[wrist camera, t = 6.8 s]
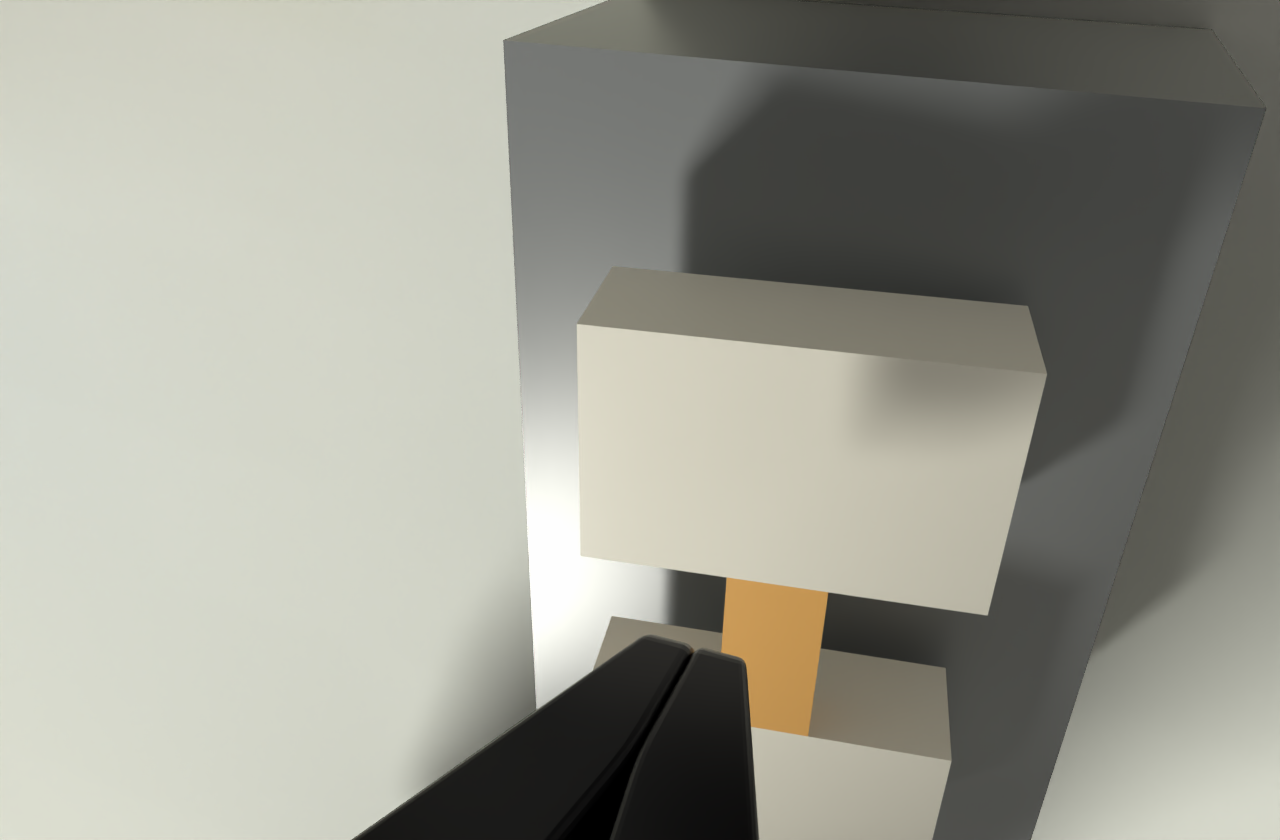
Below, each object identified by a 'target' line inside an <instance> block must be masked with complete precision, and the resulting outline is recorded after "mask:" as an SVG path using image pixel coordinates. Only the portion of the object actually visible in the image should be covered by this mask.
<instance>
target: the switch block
mask: <svg viewBox="0 0 1280 840" xmlns="http://www.w3.org/2000/svg"><path fill="white" fill-rule="evenodd" d="M503 42H504V63H505V83H506V103H507V124H508V144H509V164H510V185H511V205H512V225H513V246H514V266H515V286H516V306H517V327H518V347H519V367H520V388H521V408H522V428H523V449H524V469H525V489H526V510H527V530H528V550H529V571H530V591H531V611H532V632H533V652H534V672H535V693H536V710H537V709H539V708H540V707H541V706H543V705H544V704H546V703H547V702H549V701H550V700H551V699H553V698H554V697H556V696H557V695H559V694H560V693H561V692H563V691H564V690H566V689H567V688H569V687H570V686H571V685H573V684H574V683H576V682H577V681H579V680H580V679H581V678H583V677H584V676H586V675H587V674H588V673H590V672H591V671H593V668H594V665H595V662H596V659H597V657H598V654H599V651H600V648H601V645H602V642H603V640H604V637H605V634H606V631H607V628H608V625H609V622H610V620H611V617H612V616H616V617H622V618H628V619H635V620H641V621H648V622H654V623H661V624H667V625H673V626H680V627H686V628H693V629H699V630H706V631H712V632H718V633H723V621H724V608H725V594H726V581H727V577H720V576H714V575H707V574H700V573H693V572H686V571H679V570H672V569H666V568H659V567H652V566H645V565H638V564H631V563H625V562H618V561H611V560H604V559H597V558H590V557H584V556H581V554H580V494H579V435H578V375H577V323H578V321H579V319H580V318H581V316H582V315H583V313H584V311H585V310H586V308H587V307H588V305H589V303H590V302H591V300H592V299H593V297H594V295H595V294H596V292H597V291H598V289H599V287H600V286H601V284H602V283H603V281H604V279H605V278H606V276H607V275H608V273H609V271H610V270H611V268H612V267H613V266H617V267H627V268H637V269H648V270H658V271H669V272H679V273H690V274H700V275H710V276H721V277H731V278H742V279H752V280H763V281H773V282H783V283H794V284H804V285H815V286H825V287H836V288H846V289H857V290H867V291H877V292H888V293H898V294H909V295H919V296H930V297H940V298H950V299H961V300H971V301H982V302H992V303H1003V304H1013V305H1023V306H1028V308H1029V311H1030V315H1031V318H1032V322H1033V325H1034V329H1035V333H1036V336H1037V340H1038V343H1039V347H1040V350H1041V354H1042V357H1043V361H1044V364H1045V368H1046V372H1047V377H1046V381H1045V385H1044V389H1043V393H1042V397H1041V401H1040V405H1039V409H1038V413H1037V417H1036V421H1035V426H1034V430H1033V434H1032V438H1031V442H1030V446H1029V450H1028V454H1027V458H1026V462H1025V466H1024V470H1023V474H1022V478H1021V482H1020V486H1019V490H1018V494H1017V498H1016V502H1015V506H1014V511H1013V515H1012V519H1011V523H1010V527H1009V531H1008V535H1007V539H1006V543H1005V547H1004V551H1003V555H1002V559H1001V563H1000V567H999V571H998V575H997V579H996V583H995V587H994V592H993V596H992V600H991V604H990V608H989V612H988V616H987V615H980V614H973V613H967V612H960V611H953V610H946V609H939V608H932V607H925V606H919V605H912V604H905V603H898V602H891V601H884V600H878V599H871V598H864V597H857V596H850V595H843V594H837V593H830V592H828V599H827V606H826V613H825V620H824V627H823V634H822V641H821V649H828V650H834V651H840V652H847V653H853V654H860V655H866V656H873V657H879V658H885V659H892V660H898V661H905V662H911V663H917V664H924V665H930V666H937V667H943V668H946V681H947V697H948V712H949V728H950V743H951V759H952V762H951V766H950V770H949V774H948V778H947V782H946V786H945V790H944V794H943V798H942V802H941V806H940V810H939V814H938V818H937V822H936V826H935V830H934V834H933V838H932V840H1031V837H1032V834H1033V831H1034V828H1035V825H1036V822H1037V819H1038V816H1039V813H1040V809H1041V806H1042V803H1043V800H1044V797H1045V794H1046V791H1047V788H1048V785H1049V781H1050V778H1051V775H1052V772H1053V769H1054V766H1055V763H1056V760H1057V757H1058V754H1059V750H1060V747H1061V744H1062V741H1063V738H1064V735H1065V732H1066V729H1067V726H1068V722H1069V719H1070V716H1071V713H1072V710H1073V707H1074V704H1075V701H1076V698H1077V695H1078V691H1079V688H1080V685H1081V682H1082V679H1083V676H1084V673H1085V670H1086V667H1087V663H1088V660H1089V657H1090V654H1091V651H1092V648H1093V645H1094V642H1095V639H1096V636H1097V632H1098V629H1099V626H1100V623H1101V620H1102V617H1103V614H1104V611H1105V608H1106V604H1107V601H1108V598H1109V595H1110V592H1111V589H1112V586H1113V583H1114V580H1115V577H1116V573H1117V570H1118V567H1119V564H1120V561H1121V558H1122V555H1123V552H1124V549H1125V545H1126V542H1127V539H1128V536H1129V533H1130V530H1131V527H1132V524H1133V521H1134V518H1135V514H1136V511H1137V508H1138V505H1139V502H1140V499H1141V496H1142V493H1143V490H1144V486H1145V483H1146V480H1147V477H1148V474H1149V471H1150V468H1151V465H1152V462H1153V459H1154V455H1155V452H1156V449H1157V446H1158V443H1159V440H1160V437H1161V434H1162V431H1163V427H1164V424H1165V421H1166V418H1167V415H1168V412H1169V409H1170V406H1171V403H1172V400H1173V396H1174V393H1175V390H1176V387H1177V384H1178V381H1179V378H1180V375H1181V372H1182V368H1183V365H1184V362H1185V359H1186V356H1187V353H1188V350H1189V347H1190V344H1191V340H1192V337H1193V334H1194V331H1195V328H1196V325H1197V322H1198V319H1199V316H1200V313H1201V309H1202V306H1203V303H1204V300H1205V297H1206V294H1207V291H1208V288H1209V285H1210V281H1211V278H1212V275H1213V272H1214V269H1215V266H1216V263H1217V260H1218V257H1219V254H1220V250H1221V247H1222V244H1223V241H1224V238H1225V235H1226V232H1227V229H1228V226H1229V222H1230V219H1231V216H1232V213H1233V210H1234V207H1235V204H1236V201H1237V198H1238V195H1239V191H1240V188H1241V185H1242V182H1243V179H1244V176H1245V173H1246V170H1247V167H1248V163H1249V160H1250V157H1251V154H1252V151H1253V148H1254V145H1255V142H1256V139H1257V136H1258V132H1259V129H1260V126H1261V123H1262V120H1263V117H1264V114H1265V111H1266V107H1265V106H1264V104H1263V103H1262V101H1261V100H1260V98H1259V97H1258V96H1257V94H1256V93H1255V91H1254V90H1253V88H1252V87H1251V85H1250V84H1249V83H1248V81H1247V80H1246V78H1245V77H1244V75H1243V74H1242V72H1241V71H1240V69H1239V68H1238V67H1237V65H1236V64H1235V62H1234V61H1233V59H1232V58H1231V56H1230V55H1229V54H1228V52H1227V51H1226V49H1225V48H1224V46H1223V45H1222V43H1221V42H1220V41H1219V39H1218V38H1217V36H1216V35H1215V33H1214V32H1213V30H1212V29H1198V28H1184V27H1170V26H1155V25H1141V24H1127V23H1113V22H1098V21H1084V20H1070V19H1056V18H1042V17H1027V16H1013V15H999V14H985V13H970V12H956V11H942V10H928V9H914V8H899V7H885V6H871V5H857V4H842V3H828V2H814V1H800V0H608V1H605V2H602V3H600V4H597V5H595V6H592V7H589V8H587V9H584V10H581V11H579V12H576V13H574V14H571V15H568V16H566V17H563V18H560V19H558V20H555V21H553V22H550V23H547V24H545V25H542V26H540V27H537V28H534V29H532V30H529V31H526V32H524V33H521V34H519V35H516V36H513V37H511V38H508V39H505V40H503Z"/></svg>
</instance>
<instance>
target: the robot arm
mask: <svg viewBox="0 0 1280 840" xmlns="http://www.w3.org/2000/svg"><path fill="white" fill-rule="evenodd" d="M352 840H759V829H758V815H757V802H756V788H755V774H754V760H753V746H752V732H751V719H750V705H749V691H748V677H747V667H746V663H745V661H744V660H743V659H742V658H740V657H737V656H733V655H730V654H726V653H722V652H718V651H714V650H710V649H707V648H700V649H698V650H696V651H695V652H694V649H693V648H692V647H691V646H690V645H689V644H687V643H684V642H680V641H676V640H672V639H668V638H664V637H660V636H657V635H651V634H650V635H645V636H642V637H640V638H638V639H637V640H636V641H634V642H633V643H631V644H630V645H628V646H627V647H626V648H624V649H623V650H621V651H620V652H618V653H617V654H616V655H614V656H613V657H611V658H610V659H608V660H607V661H606V662H604V663H603V664H601V665H600V666H598V667H597V668H596V669H594V670H593V671H591V672H590V673H588V674H587V675H586V676H584V677H583V678H581V679H580V680H579V681H577V682H576V683H574V684H573V685H571V686H570V687H569V688H567V689H566V690H564V691H563V692H561V693H560V694H559V695H557V696H556V697H554V698H553V699H551V700H550V701H549V702H547V703H546V704H544V705H543V706H541V707H540V708H539V709H537V710H536V711H534V712H533V713H531V714H530V715H529V716H527V717H526V718H524V719H523V720H522V721H520V722H519V723H517V724H516V725H514V726H513V727H512V728H510V729H509V730H507V731H506V732H504V733H503V734H502V735H500V736H499V737H497V738H496V739H494V740H493V741H492V742H490V743H489V744H487V745H486V746H484V747H483V748H482V749H480V750H479V751H477V752H476V753H474V754H473V755H472V756H470V757H469V758H467V759H466V760H464V761H463V762H462V763H460V764H459V765H457V766H456V767H455V768H453V769H452V770H450V771H449V772H447V773H446V774H445V775H443V776H442V777H440V778H439V779H437V780H436V781H435V782H433V783H432V784H430V785H429V786H427V787H426V788H425V789H423V790H422V791H420V792H419V793H417V794H416V795H415V796H413V797H412V798H410V799H409V800H407V801H406V802H405V803H403V804H402V805H400V806H399V807H398V808H396V809H395V810H393V811H392V812H390V813H389V814H388V815H386V816H385V817H383V818H382V819H380V820H379V821H378V822H376V823H375V824H373V825H372V826H370V827H369V828H368V829H366V830H365V831H363V832H362V833H360V834H359V835H358V836H356V837H355V838H353V839H352Z"/></svg>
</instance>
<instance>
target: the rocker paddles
mask: <svg viewBox="0 0 1280 840" xmlns="http://www.w3.org/2000/svg"><path fill="white" fill-rule="evenodd" d="M577 375H578V435H579V494H580V554H581V556H584V557H590V558H597V559H604V560H611V561H618V562H625V563H631V564H638V565H645V566H652V567H659V568H666V569H672V570H679V571H686V572H693V573H700V574H707V575H714V576H720V577H727V581H726V594H725V608H724V621H723V633H718V632H712V631H706V630H699V629H693V628H686V627H680V626H673V625H667V624H661V623H654V622H648V621H641V620H635V619H628V618H622V617H616V616H612V617H611V620H610V622H609V625H608V628H607V631H606V634H605V637H604V640H603V642H602V645H601V648H600V651H599V654H598V657H597V659H596V662H595V665H594V668H593V670H594V669H596V668H597V667H598V666H600V665H601V664H603V663H604V662H606V661H607V660H608V659H610V658H611V657H613V656H614V655H616V654H617V653H618V652H620V651H621V650H623V649H624V648H626V647H627V646H628V645H630V644H631V643H633V642H634V641H636V640H637V639H638V638H640V637H642V636H645V635H650V634H651V635H657V636H660V637H664V638H668V639H672V640H676V641H680V642H684V643H687V644H689V645H690V646H691V647H692V648H693V649H694V652H695V651H696V650H698V649H700V648H707V649H710V650H714V651H718V652H722V653H726V654H730V655H733V656H737V657H740V658H742V659H743V660H744V661H745V663H746V667H747V677H748V691H749V705H750V719H751V732H752V746H753V760H754V774H755V788H756V802H757V815H758V829H759V840H932V838H933V834H934V830H935V826H936V822H937V818H938V814H939V810H940V806H941V802H942V798H943V794H944V790H945V786H946V782H947V778H948V774H949V770H950V766H951V762H952V759H951V743H950V728H949V712H948V697H947V681H946V668H943V667H937V666H930V665H924V664H917V663H911V662H905V661H898V660H892V659H885V658H879V657H873V656H866V655H860V654H853V653H847V652H840V651H834V650H828V649H821V641H822V634H823V627H824V620H825V613H826V606H827V599H828V592H830V593H837V594H843V595H850V596H857V597H864V598H871V599H878V600H884V601H891V602H898V603H905V604H912V605H919V606H925V607H932V608H939V609H946V610H953V611H960V612H967V613H973V614H980V615H987V616H988V612H989V608H990V604H991V600H992V596H993V592H994V587H995V583H996V579H997V575H998V571H999V567H1000V563H1001V559H1002V555H1003V551H1004V547H1005V543H1006V539H1007V535H1008V531H1009V527H1010V523H1011V519H1012V515H1013V511H1014V506H1015V502H1016V498H1017V494H1018V490H1019V486H1020V482H1021V478H1022V474H1023V470H1024V466H1025V462H1026V458H1027V454H1028V450H1029V446H1030V442H1031V438H1032V434H1033V430H1034V426H1035V421H1036V417H1037V413H1038V409H1039V405H1040V401H1041V397H1042V393H1043V389H1044V385H1045V381H1046V377H1047V372H1046V368H1045V364H1044V361H1043V357H1042V354H1041V350H1040V347H1039V343H1038V340H1037V336H1036V333H1035V329H1034V325H1033V322H1032V318H1031V315H1030V311H1029V308H1028V306H1023V305H1013V304H1003V303H992V302H982V301H971V300H961V299H950V298H940V297H930V296H919V295H909V294H898V293H888V292H877V291H867V290H857V289H846V288H836V287H825V286H815V285H804V284H794V283H783V282H773V281H763V280H752V279H742V278H731V277H721V276H710V275H700V274H690V273H679V272H669V271H658V270H648V269H637V268H627V267H617V266H613V267H612V268H611V270H610V271H609V273H608V275H607V276H606V278H605V279H604V281H603V283H602V284H601V286H600V287H599V289H598V291H597V292H596V294H595V295H594V297H593V299H592V300H591V302H590V303H589V305H588V307H587V308H586V310H585V311H584V313H583V315H582V316H581V318H580V319H579V321H578V323H577Z"/></svg>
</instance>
